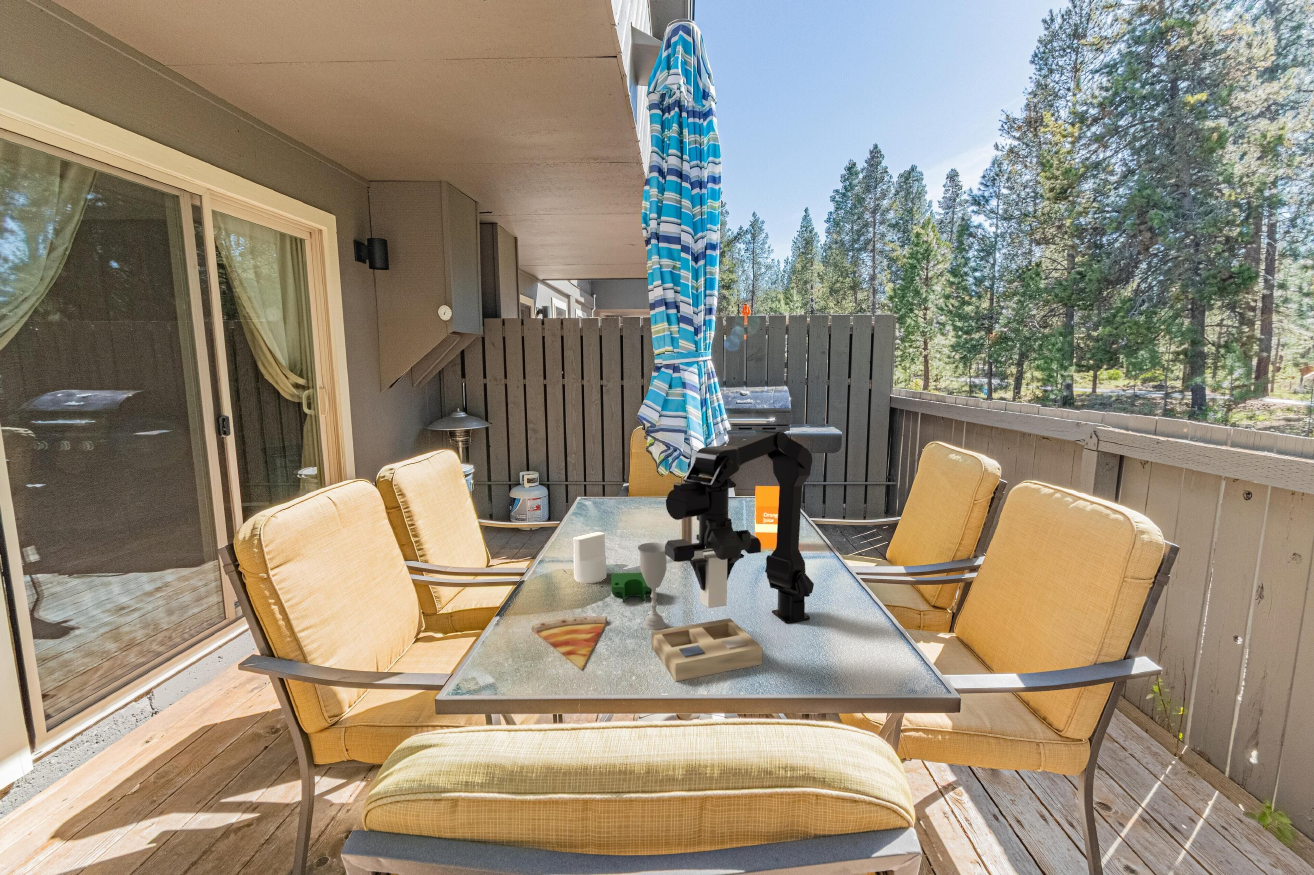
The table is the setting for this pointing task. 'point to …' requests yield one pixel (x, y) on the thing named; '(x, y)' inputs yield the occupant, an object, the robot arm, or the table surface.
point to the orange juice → (766, 515)
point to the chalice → (653, 578)
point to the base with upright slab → (589, 558)
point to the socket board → (705, 649)
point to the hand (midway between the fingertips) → (712, 588)
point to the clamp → (629, 585)
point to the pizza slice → (572, 636)
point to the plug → (714, 581)
